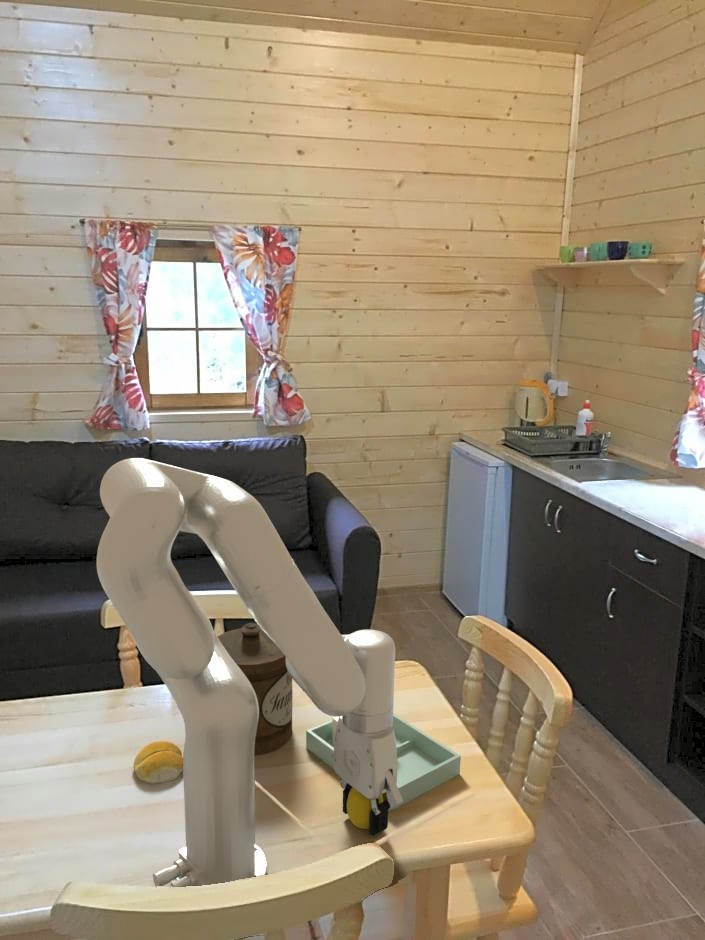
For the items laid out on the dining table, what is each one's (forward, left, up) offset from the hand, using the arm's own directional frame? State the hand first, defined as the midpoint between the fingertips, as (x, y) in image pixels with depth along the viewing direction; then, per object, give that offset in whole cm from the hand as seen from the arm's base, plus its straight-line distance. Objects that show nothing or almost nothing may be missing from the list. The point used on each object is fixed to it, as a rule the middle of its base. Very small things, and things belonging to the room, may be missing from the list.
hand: (364, 819), depth 122 cm
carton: (+13, +16, -1) cm, 21 cm away
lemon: (0, 0, -2) cm, 2 cm away
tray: (+13, +11, -1) cm, 17 cm away
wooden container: (0, +32, -2) cm, 32 cm away
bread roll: (-18, +33, -2) cm, 37 cm away
